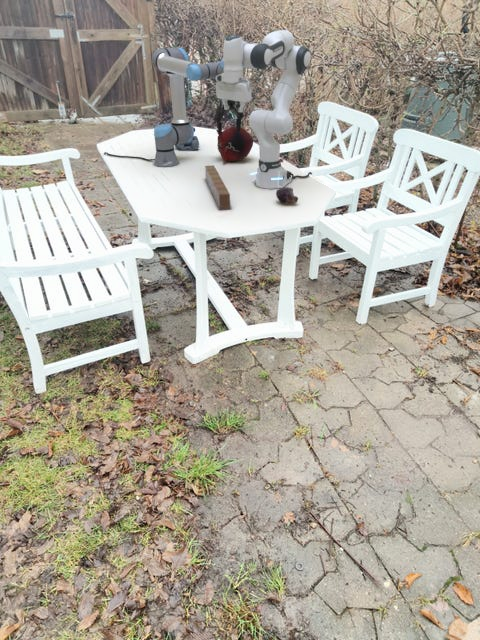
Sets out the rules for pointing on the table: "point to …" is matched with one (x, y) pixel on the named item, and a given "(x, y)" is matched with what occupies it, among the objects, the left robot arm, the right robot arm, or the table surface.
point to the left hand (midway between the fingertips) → (229, 132)
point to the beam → (217, 188)
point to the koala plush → (189, 144)
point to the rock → (286, 195)
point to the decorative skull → (234, 144)
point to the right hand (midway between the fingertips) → (233, 110)
